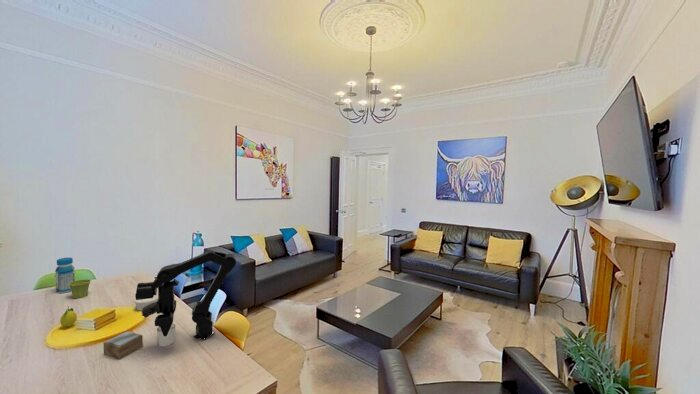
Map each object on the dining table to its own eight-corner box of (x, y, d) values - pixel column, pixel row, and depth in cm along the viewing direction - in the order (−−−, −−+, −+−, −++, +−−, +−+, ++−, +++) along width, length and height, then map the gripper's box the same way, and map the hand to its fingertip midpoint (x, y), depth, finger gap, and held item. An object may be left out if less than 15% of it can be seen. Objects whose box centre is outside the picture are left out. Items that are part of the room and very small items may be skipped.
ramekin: (130, 309, 148) (129, 300, 148) (151, 301, 159) (151, 292, 158) (143, 313, 144) (143, 304, 144) (164, 305, 155) (164, 296, 154)
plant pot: (93, 295, 163) (93, 281, 162) (71, 301, 155) (71, 286, 154) (88, 291, 168) (88, 278, 167) (66, 297, 160) (66, 282, 159)
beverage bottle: (65, 294, 164) (64, 261, 163) (51, 293, 164) (50, 260, 163) (79, 288, 172) (78, 257, 171) (66, 287, 172) (65, 256, 171)
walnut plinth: (142, 346, 117) (142, 334, 117) (119, 359, 108) (119, 346, 108) (127, 342, 119) (127, 330, 119) (103, 354, 111) (103, 341, 110)
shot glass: (166, 348, 116) (166, 332, 116) (152, 345, 118) (152, 330, 117) (179, 339, 123) (179, 324, 123) (166, 337, 124) (166, 322, 124)
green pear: (65, 331, 126) (64, 310, 125) (55, 329, 127) (54, 308, 126) (82, 324, 132) (81, 303, 132) (72, 322, 134) (72, 302, 133)
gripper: (147, 291, 123) (147, 324, 124) (138, 308, 107) (139, 347, 108) (176, 287, 129) (176, 319, 130) (172, 303, 112) (172, 340, 113)
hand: (166, 330), depth 120 cm, fingers open, 9 cm apart
